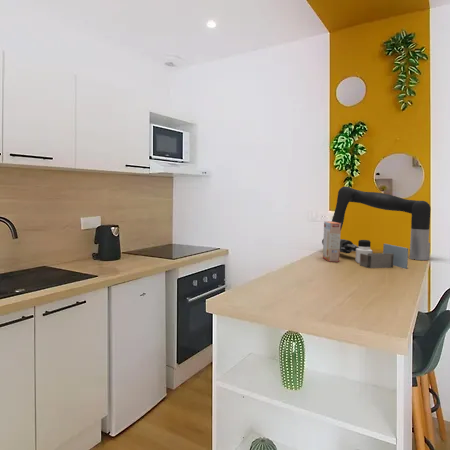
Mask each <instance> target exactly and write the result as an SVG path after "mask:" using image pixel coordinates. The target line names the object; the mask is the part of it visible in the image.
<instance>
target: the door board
mask: <svg viewBox="0 0 450 450" xmlns="http://www.w3.org/2000/svg"><path fill="white" fill-rule="evenodd" d="M382 249H383V251H382V253H393V254H394V257H393V267H394V266H395V267H398V268H401V269H404V270H408V263H409V262H408V260H409V259H408V258H409V248H407V247H405V246H404V247H403V246H399V245H398V246H397V245H392V244H389V243H383V248H382Z"/></svg>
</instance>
